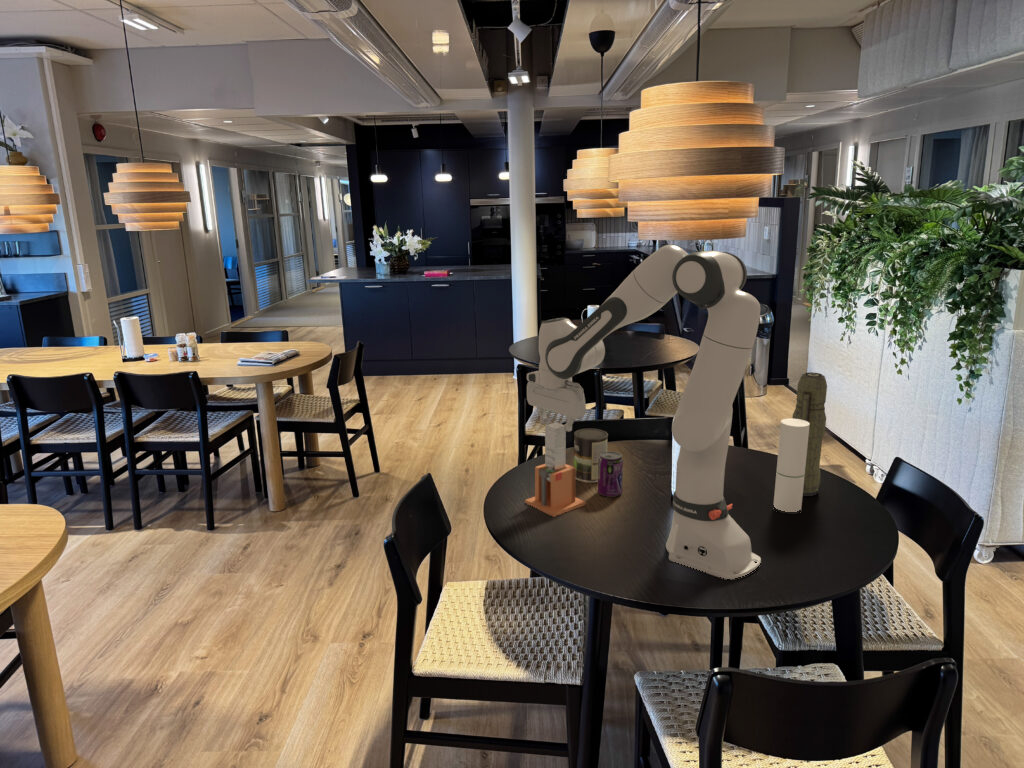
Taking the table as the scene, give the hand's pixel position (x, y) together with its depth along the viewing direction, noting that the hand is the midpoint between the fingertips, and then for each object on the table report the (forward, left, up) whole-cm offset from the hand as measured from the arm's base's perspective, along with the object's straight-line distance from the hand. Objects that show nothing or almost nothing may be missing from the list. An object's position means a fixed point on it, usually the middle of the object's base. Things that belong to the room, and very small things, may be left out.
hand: (556, 426), depth 194 cm
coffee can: (+8, -22, -23) cm, 33 cm away
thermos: (-40, -61, -23) cm, 76 cm away
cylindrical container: (-44, -46, -23) cm, 68 cm away
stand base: (0, 0, -23) cm, 23 cm away
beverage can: (-5, -17, -23) cm, 29 cm away
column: (0, 0, -16) cm, 16 cm away
